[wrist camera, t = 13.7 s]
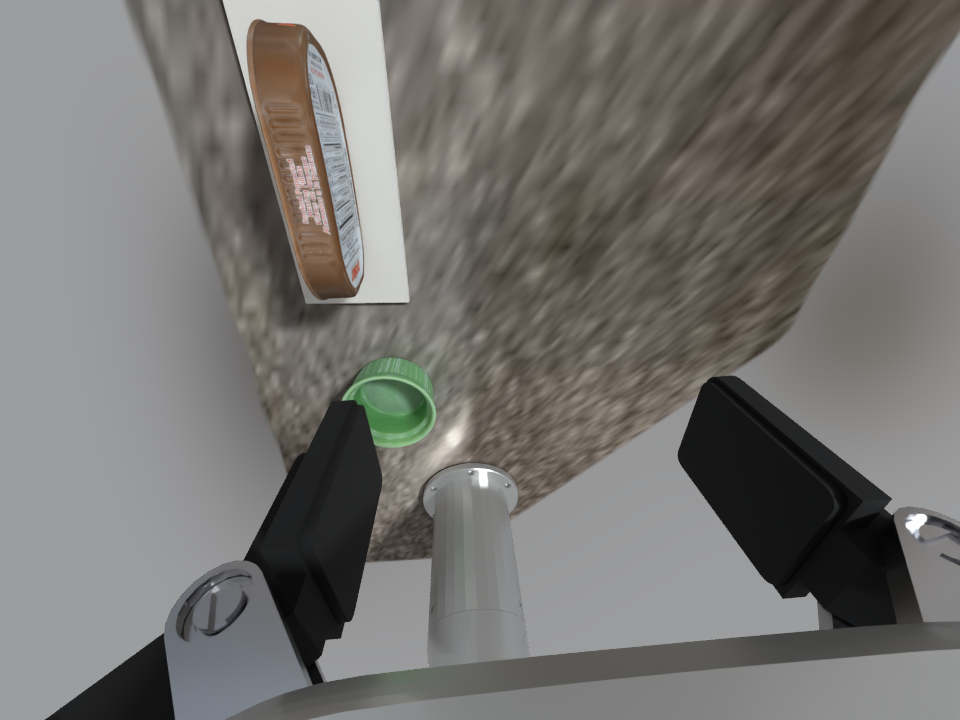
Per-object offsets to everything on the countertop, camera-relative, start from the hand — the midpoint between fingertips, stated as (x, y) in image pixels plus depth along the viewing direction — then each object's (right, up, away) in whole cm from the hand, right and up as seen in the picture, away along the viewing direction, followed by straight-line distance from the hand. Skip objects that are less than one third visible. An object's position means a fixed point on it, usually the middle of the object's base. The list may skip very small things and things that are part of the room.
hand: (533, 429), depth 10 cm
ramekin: (-11, -1, +27) cm, 29 cm away
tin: (-12, +16, +16) cm, 25 cm away
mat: (-12, +16, +16) cm, 26 cm away
